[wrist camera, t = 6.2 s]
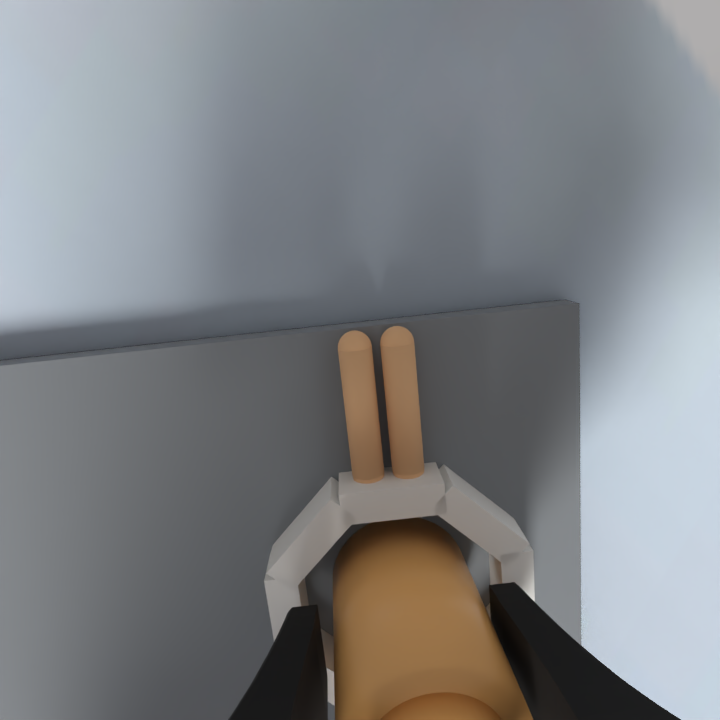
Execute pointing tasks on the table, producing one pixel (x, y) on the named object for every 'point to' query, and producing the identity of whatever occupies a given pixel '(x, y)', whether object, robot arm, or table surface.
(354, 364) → the mat
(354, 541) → the stepped orange capsule
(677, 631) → the table surface
